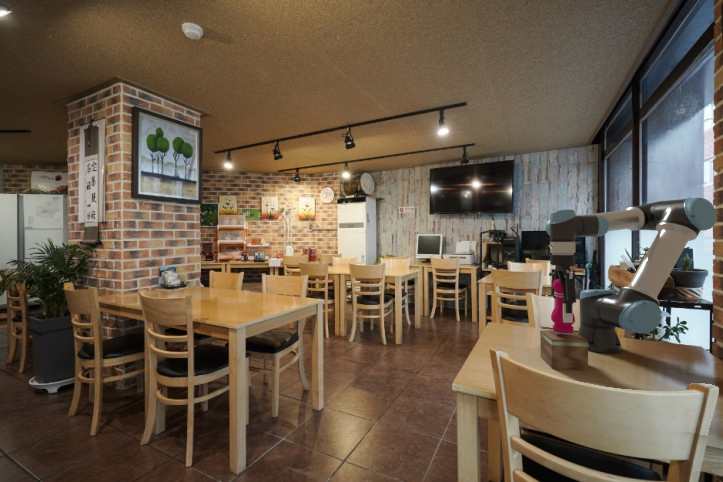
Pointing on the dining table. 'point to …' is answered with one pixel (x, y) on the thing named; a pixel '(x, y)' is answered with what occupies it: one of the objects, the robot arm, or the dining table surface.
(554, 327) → the pepper mill
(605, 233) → the robot arm
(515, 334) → the dining table surface
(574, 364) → the walnut box
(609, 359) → the dining table surface
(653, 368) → the dining table surface
